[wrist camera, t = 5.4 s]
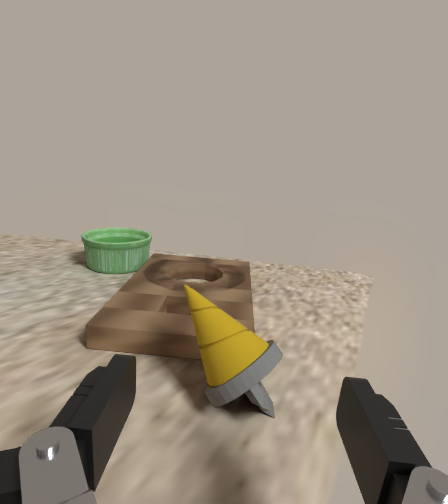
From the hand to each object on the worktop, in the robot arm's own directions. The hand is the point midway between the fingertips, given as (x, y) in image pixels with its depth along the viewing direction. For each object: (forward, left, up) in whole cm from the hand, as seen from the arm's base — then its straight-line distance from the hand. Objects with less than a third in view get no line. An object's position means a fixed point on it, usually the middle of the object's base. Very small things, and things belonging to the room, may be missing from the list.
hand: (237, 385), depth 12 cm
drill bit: (0, +7, -7) cm, 10 cm away
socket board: (-5, +21, -7) cm, 23 cm away
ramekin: (-16, +31, -7) cm, 36 cm away
